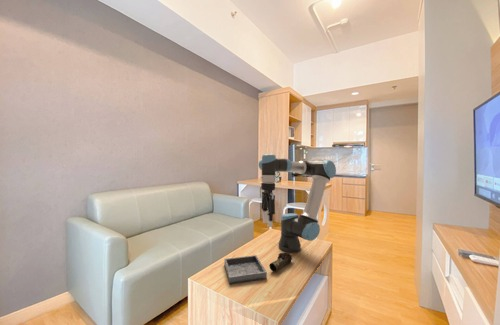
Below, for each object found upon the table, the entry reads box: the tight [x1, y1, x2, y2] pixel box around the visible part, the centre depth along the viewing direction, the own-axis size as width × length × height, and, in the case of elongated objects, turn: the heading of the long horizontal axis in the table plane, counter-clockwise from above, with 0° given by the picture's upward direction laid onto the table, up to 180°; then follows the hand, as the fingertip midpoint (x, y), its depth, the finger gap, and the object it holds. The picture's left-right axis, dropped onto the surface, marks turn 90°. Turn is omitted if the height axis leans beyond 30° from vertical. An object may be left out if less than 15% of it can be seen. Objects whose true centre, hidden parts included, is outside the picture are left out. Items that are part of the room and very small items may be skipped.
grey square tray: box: [223, 254, 268, 286], centre depth 108 cm, size 19×19×4 cm
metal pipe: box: [269, 252, 293, 273], centre depth 114 cm, size 18×7×6 cm, turn 137°
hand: (267, 224), depth 109 cm, fingers open, 7 cm apart
